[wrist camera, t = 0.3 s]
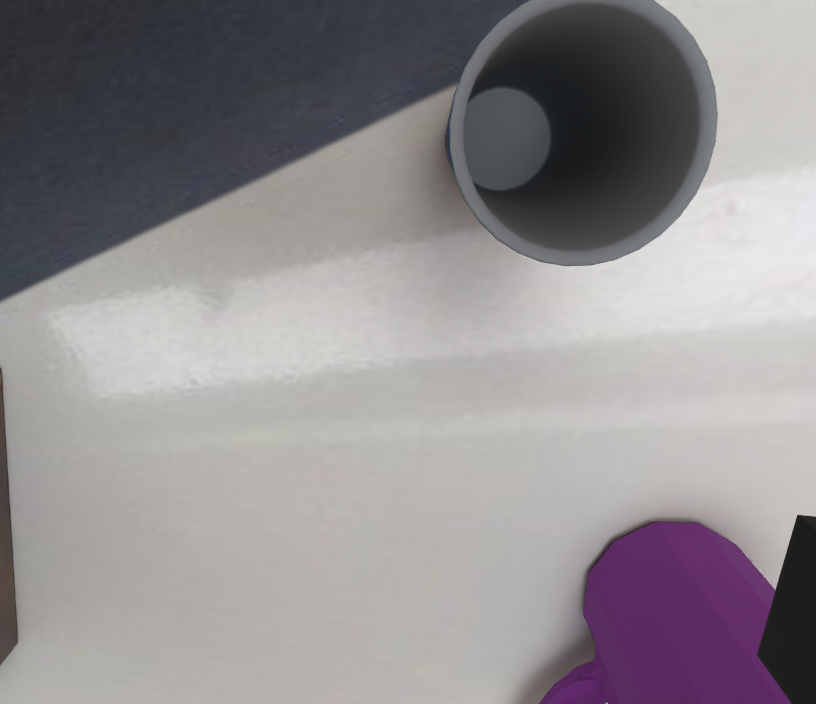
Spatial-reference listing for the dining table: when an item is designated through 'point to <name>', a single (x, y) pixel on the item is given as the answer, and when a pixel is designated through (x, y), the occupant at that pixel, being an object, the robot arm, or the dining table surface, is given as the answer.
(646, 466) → the dining table surface
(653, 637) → the mug
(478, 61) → the cup
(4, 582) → the wooden box with backboard
